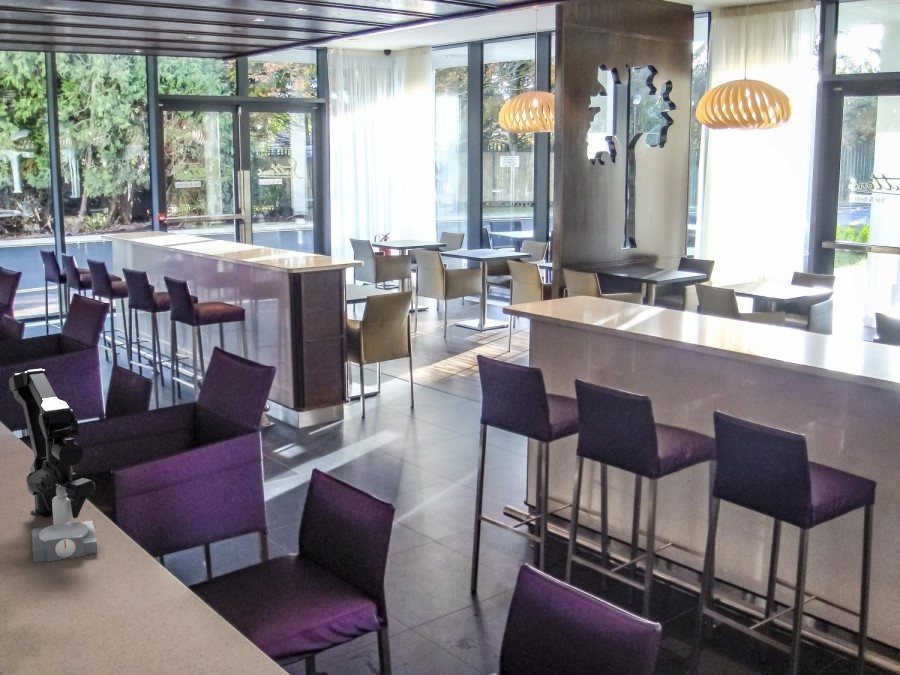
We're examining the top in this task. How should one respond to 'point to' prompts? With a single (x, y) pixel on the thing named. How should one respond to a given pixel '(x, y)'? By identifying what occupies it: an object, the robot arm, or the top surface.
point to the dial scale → (63, 541)
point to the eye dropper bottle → (61, 507)
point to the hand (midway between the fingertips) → (62, 514)
